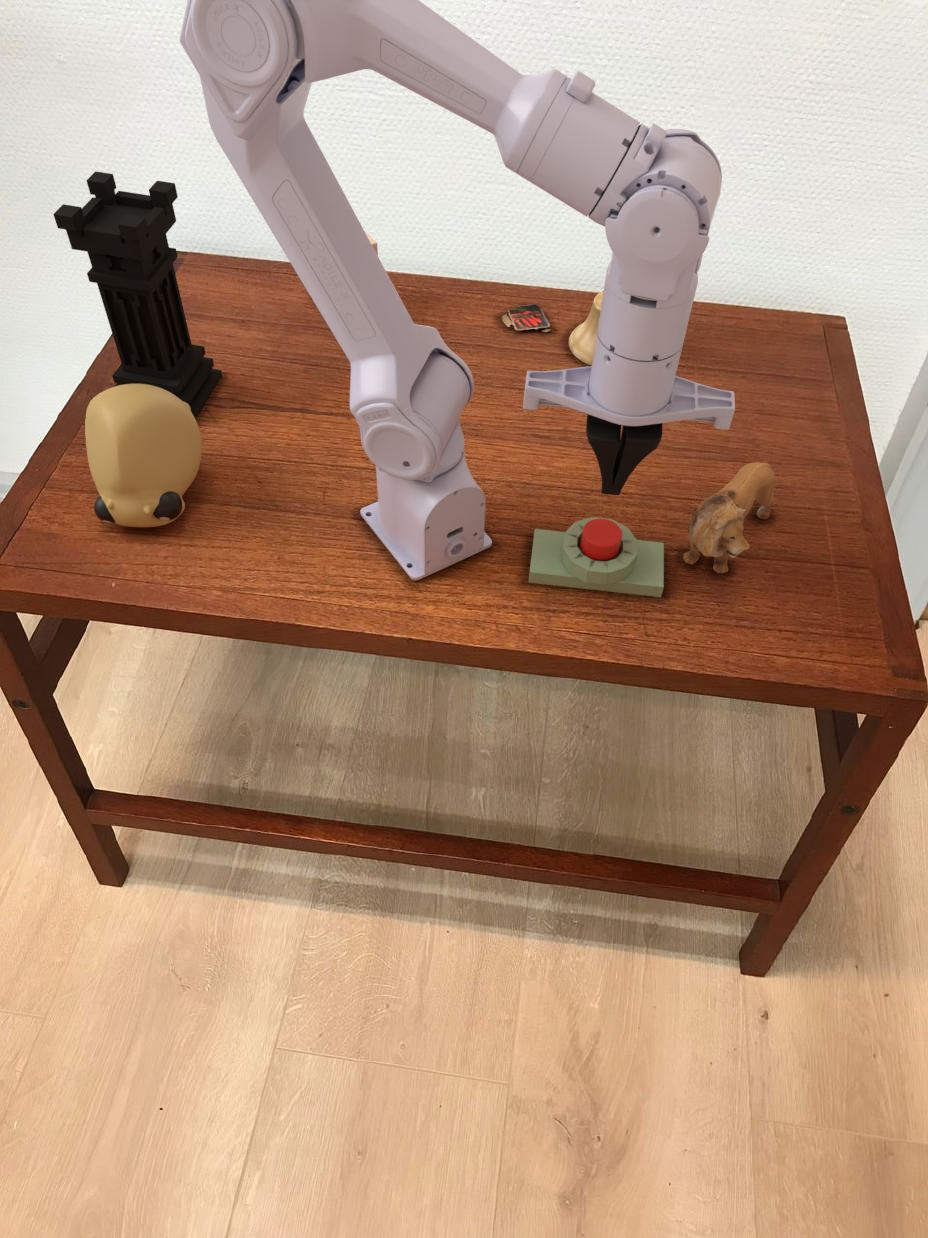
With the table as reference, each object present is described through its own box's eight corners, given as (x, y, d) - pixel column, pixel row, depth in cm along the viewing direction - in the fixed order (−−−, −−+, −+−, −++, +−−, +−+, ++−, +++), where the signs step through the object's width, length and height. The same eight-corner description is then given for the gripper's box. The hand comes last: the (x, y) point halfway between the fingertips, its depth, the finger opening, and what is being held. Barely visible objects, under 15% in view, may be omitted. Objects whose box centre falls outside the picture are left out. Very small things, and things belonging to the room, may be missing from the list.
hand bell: (647, 325, 104) (676, 180, 92) (648, 373, 99) (679, 226, 87) (569, 319, 105) (587, 173, 92) (567, 367, 100) (585, 219, 87)
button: (619, 534, 81) (622, 520, 80) (618, 563, 79) (621, 548, 78) (581, 530, 82) (583, 516, 80) (579, 558, 80) (581, 544, 78)
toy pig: (111, 520, 90) (57, 528, 79) (108, 386, 88) (52, 376, 77) (217, 524, 89) (176, 533, 79) (216, 389, 87) (174, 380, 77)
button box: (661, 548, 84) (667, 524, 82) (660, 603, 80) (667, 579, 78) (533, 535, 85) (536, 510, 82) (527, 588, 81) (530, 563, 79)
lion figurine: (724, 611, 80) (752, 536, 73) (663, 587, 81) (684, 510, 74) (778, 501, 88) (808, 423, 81) (722, 480, 90) (746, 402, 83)
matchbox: (533, 303, 106) (534, 299, 106) (557, 329, 103) (558, 325, 103) (495, 314, 105) (496, 310, 104) (518, 340, 102) (519, 336, 102)
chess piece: (111, 413, 94) (46, 215, 78) (147, 363, 98) (93, 168, 83) (189, 427, 93) (139, 230, 77) (222, 376, 97) (181, 181, 82)
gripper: (748, 310, 67) (704, 460, 77) (535, 290, 67) (521, 441, 78) (753, 375, 62) (706, 524, 73) (526, 352, 63) (513, 503, 74)
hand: (610, 485), depth 75 cm, fingers closed
